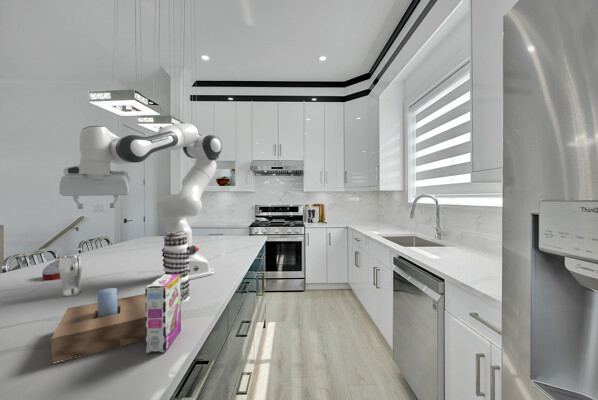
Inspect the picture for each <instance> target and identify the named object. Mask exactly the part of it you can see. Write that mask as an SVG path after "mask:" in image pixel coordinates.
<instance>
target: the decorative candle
mask: <svg viewBox="0 0 598 400" xmlns="http://www.w3.org/2000/svg"><path fill="white" fill-rule="evenodd" d="M187 236H188V235H186V234H185V233H184V232H182V231H176V232H169V233H167V234H166V235H165V236H164V237H163V240H164V245H163V248H162V249H161V252H162V253H161V257H163V258H162V262H163V264H162V266H163V271H164V275H166V274H181V281H180V282H181V304H183V303H186V302H188V301H189V300H190V288H189V286H190V283H189V282H190V280H189V279H188V274H187V273H188V271H187V269H188V268H189V266H188V265H187V264H189V262H188V261H187V260H188V258H189V256H187V255H188V254H189V252H187V249H189V248H190V247H188V244H187Z"/></svg>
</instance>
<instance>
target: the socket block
mask: <svg viewBox="0 0 598 400" xmlns="http://www.w3.org/2000/svg"><path fill="white" fill-rule="evenodd" d="M117 308H118V314H114V315H109V316H105V317H100V318H98V302H93V303H88V304H82V305H78V306H72V307H68V308H66V310H65V312H64V314H63V316H62V318H61V320H60V321H59V324H58V325H57V328H56V329H55V331H54V333H53V335H52V336H51V362H52V363H54V362H57V361H61V360H66V359H70V358H75V357H78V358H80V357H79V356H82V357H85V356H84V355H86V356H89V355H88V354H90V355H93V354H92V353H94V354H97V353H101V352H104V350H105V351H108V350H107V349H109V350H111V348H113V349H115V347H116V348H119V346H120V347H123V346H122V345H124V346H127V345H126V344H128V345H131V343H132V344H135V343H138V342H143V341H146V302H145V293H142V294H138V295H137V294H136V295H132V296H127V297H122V298H117ZM100 351H101V352H100ZM96 352H97V353H96ZM75 359H76V358H75Z"/></svg>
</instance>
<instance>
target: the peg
mask: <svg viewBox="0 0 598 400" xmlns="http://www.w3.org/2000/svg"><path fill="white" fill-rule="evenodd" d="M96 295H97V297H96V298H97V303H98V318H100V317H105V316H109V315H114V314H118V308H117V299H118V289H117V288H116V287H109V288H104V289H100V290H98V291H97V293H96Z"/></svg>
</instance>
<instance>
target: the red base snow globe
mask: <svg viewBox="0 0 598 400" xmlns="http://www.w3.org/2000/svg"><path fill="white" fill-rule="evenodd" d="M41 275H42V278H41V279H42V281H47V282H48V281H57V280H61V277H60V273H59V259H57V260H55V261H52V262H50V263H49V264H48V265H46V266H44V268H43V269H42V273H41Z"/></svg>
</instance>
